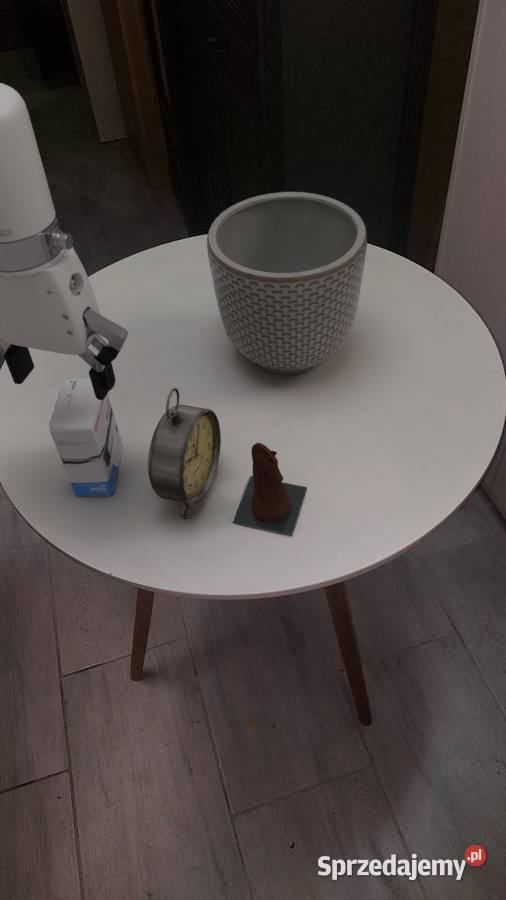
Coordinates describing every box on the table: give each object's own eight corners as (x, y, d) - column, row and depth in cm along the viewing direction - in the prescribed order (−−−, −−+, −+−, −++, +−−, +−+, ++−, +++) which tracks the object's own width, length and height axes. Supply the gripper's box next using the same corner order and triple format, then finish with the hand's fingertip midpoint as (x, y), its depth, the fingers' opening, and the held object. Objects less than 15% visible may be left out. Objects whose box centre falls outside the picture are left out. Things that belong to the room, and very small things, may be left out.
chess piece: (268, 529, 77) (264, 473, 70) (241, 502, 80) (234, 445, 72) (299, 508, 79) (298, 451, 71) (271, 482, 82) (268, 424, 74)
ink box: (114, 496, 82) (92, 429, 73) (73, 497, 82) (46, 431, 73) (124, 443, 88) (104, 375, 79) (86, 444, 88) (62, 376, 79)
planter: (382, 375, 93) (397, 253, 79) (247, 416, 90) (236, 296, 75) (324, 295, 106) (327, 177, 91) (202, 328, 102) (186, 211, 88)
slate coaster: (232, 523, 78) (232, 521, 78) (250, 477, 83) (250, 475, 82) (291, 536, 77) (291, 534, 77) (307, 488, 81) (307, 487, 81)
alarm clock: (194, 530, 78) (173, 434, 66) (151, 519, 79) (123, 423, 67) (227, 460, 85) (214, 361, 72) (187, 451, 86) (167, 352, 74)
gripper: (124, 229, 61) (152, 374, 74) (-42, 208, 65) (12, 349, 78) (87, 276, 56) (124, 422, 69) (-90, 250, 60) (-25, 392, 73)
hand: (64, 383), depth 73 cm, fingers open, 9 cm apart
